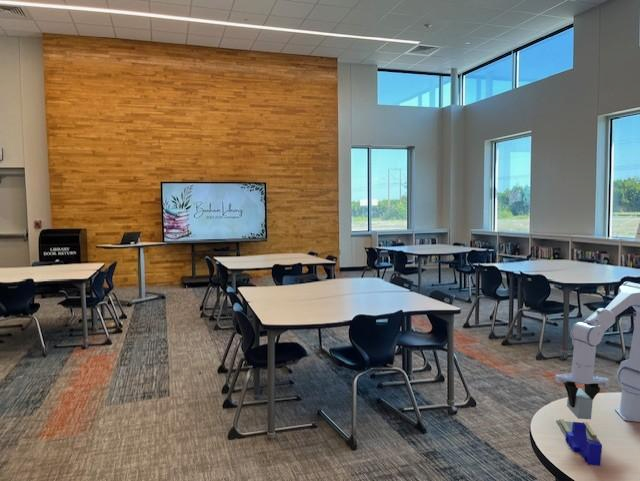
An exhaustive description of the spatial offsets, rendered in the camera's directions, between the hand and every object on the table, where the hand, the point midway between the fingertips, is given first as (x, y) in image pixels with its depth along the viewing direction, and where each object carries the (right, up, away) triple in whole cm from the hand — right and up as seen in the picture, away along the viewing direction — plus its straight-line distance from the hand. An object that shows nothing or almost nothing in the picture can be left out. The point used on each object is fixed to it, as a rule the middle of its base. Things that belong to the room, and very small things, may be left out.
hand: (579, 406), depth 142 cm
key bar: (0, -2, 0) cm, 2 cm away
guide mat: (0, -8, +1) cm, 8 cm away
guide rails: (0, -8, +1) cm, 8 cm away
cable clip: (-5, -9, -11) cm, 15 cm away
